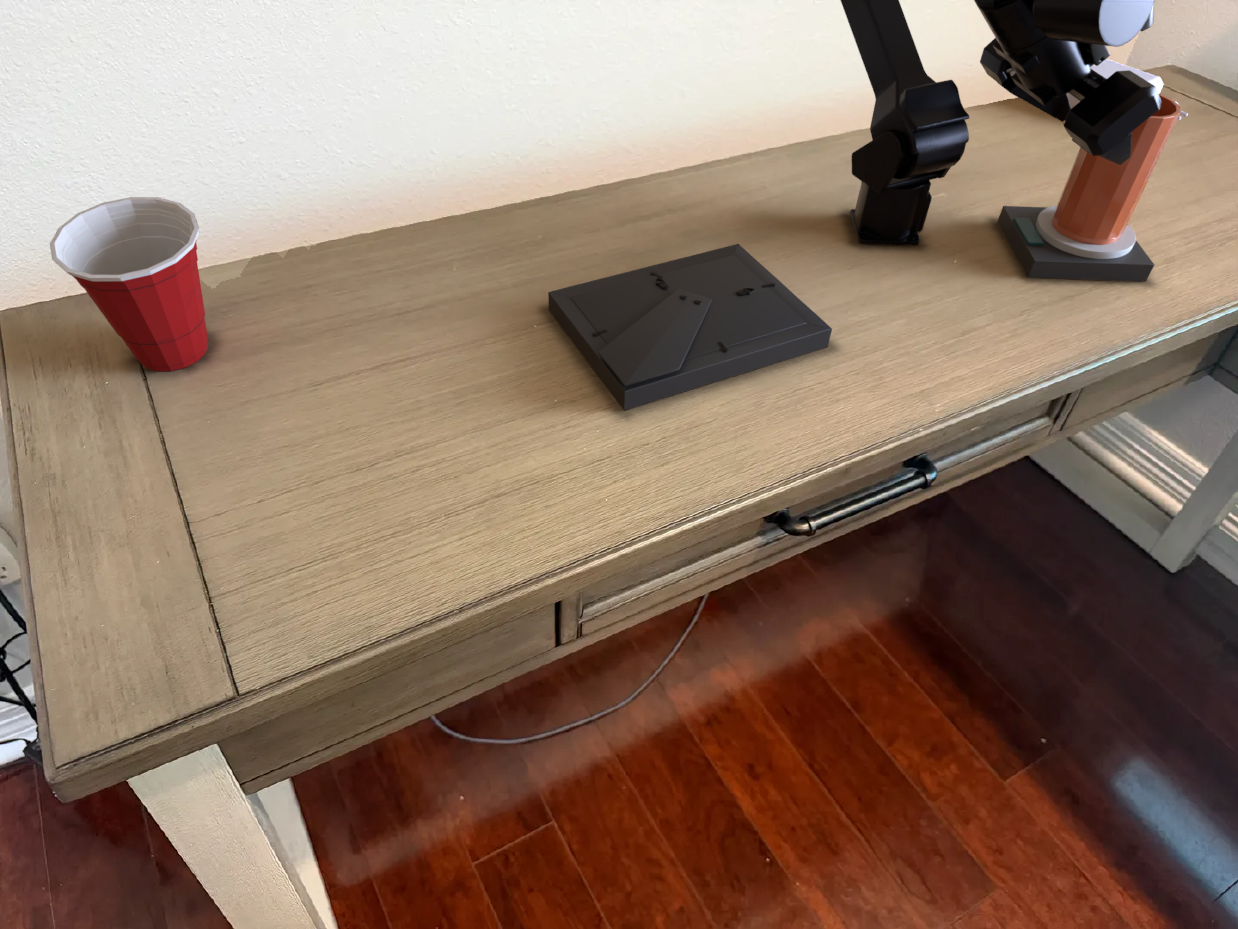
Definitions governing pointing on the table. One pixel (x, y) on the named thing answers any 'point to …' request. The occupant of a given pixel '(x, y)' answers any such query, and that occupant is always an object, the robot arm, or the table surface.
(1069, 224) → the tumbler
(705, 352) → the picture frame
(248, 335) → the table surface
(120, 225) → the plastic cup
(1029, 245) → the scale
